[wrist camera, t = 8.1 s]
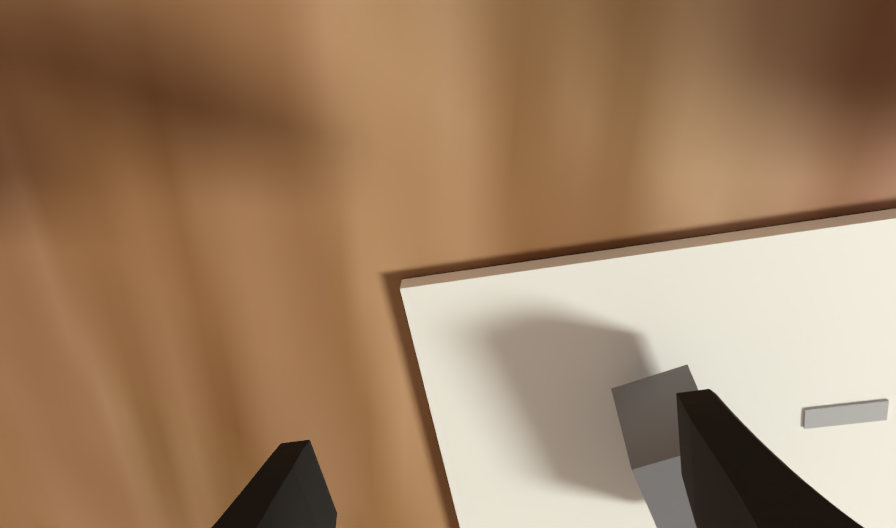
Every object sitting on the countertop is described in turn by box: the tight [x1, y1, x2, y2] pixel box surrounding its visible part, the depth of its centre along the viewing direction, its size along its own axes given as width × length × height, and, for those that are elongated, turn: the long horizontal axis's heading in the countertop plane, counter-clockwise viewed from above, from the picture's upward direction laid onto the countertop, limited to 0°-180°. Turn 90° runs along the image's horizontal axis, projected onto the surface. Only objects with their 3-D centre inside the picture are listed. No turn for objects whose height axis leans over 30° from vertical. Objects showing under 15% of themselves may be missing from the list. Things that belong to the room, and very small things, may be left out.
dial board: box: [400, 208, 896, 528], centre depth 25 cm, size 16×14×1 cm
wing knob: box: [611, 364, 698, 528], centre depth 22 cm, size 7×2×5 cm, turn 24°
